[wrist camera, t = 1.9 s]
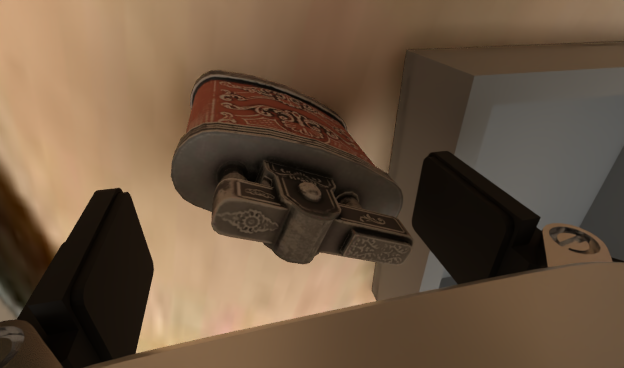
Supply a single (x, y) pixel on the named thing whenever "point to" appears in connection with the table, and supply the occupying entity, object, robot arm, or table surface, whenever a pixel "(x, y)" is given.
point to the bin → (513, 138)
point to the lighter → (285, 174)
